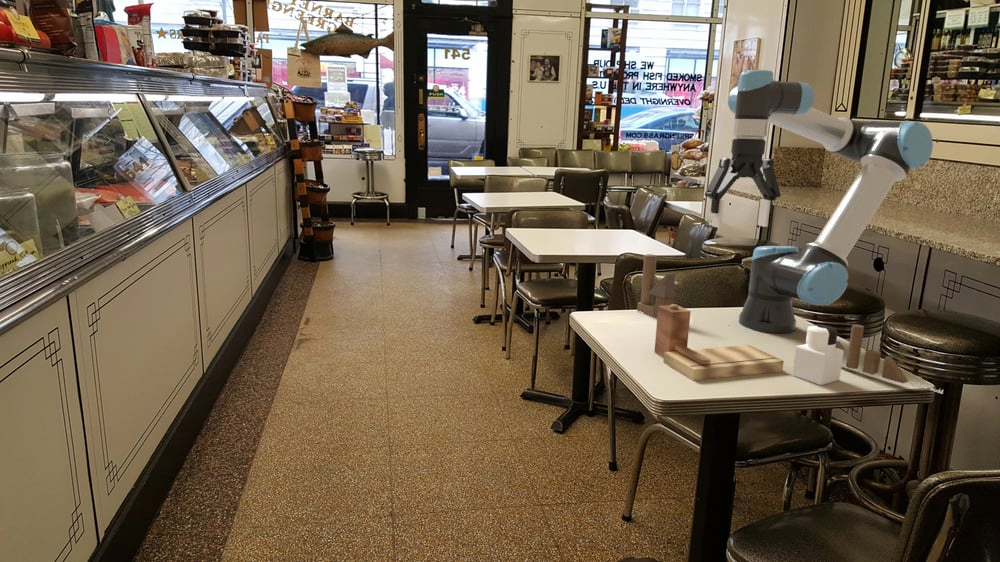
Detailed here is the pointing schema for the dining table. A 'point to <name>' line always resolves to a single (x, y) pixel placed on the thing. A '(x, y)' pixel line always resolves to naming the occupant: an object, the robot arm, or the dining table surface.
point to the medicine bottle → (819, 356)
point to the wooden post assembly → (655, 288)
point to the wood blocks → (873, 359)
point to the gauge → (675, 332)
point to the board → (724, 362)
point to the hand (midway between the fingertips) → (739, 226)
